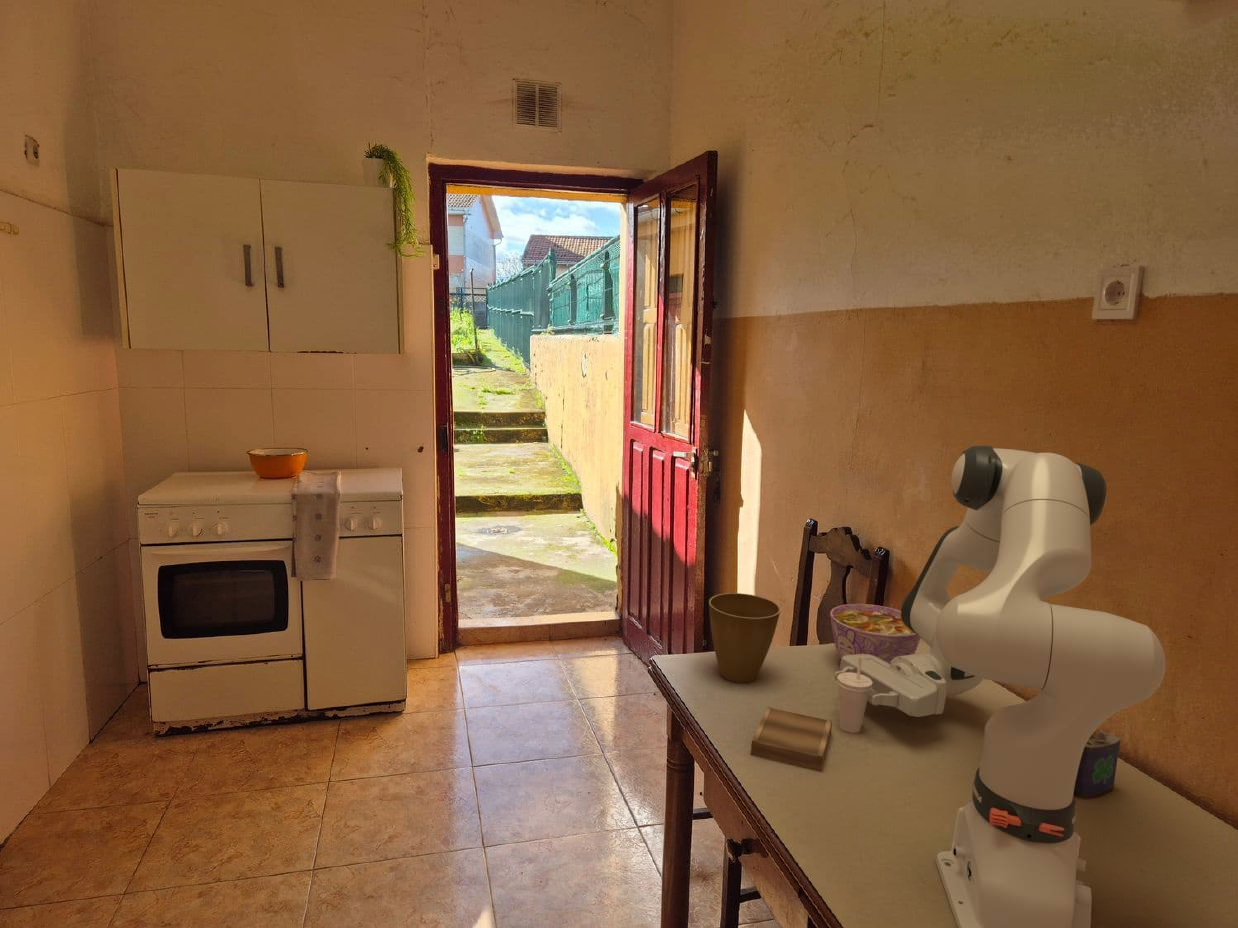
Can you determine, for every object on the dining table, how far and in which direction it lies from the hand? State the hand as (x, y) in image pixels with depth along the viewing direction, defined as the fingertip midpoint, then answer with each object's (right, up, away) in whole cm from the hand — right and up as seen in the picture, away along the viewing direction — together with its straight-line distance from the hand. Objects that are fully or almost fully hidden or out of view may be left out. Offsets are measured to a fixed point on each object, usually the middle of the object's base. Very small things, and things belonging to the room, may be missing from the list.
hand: (853, 688), depth 144 cm
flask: (+35, -13, -16) cm, 40 cm away
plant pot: (-18, -4, +22) cm, 29 cm away
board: (-13, -8, -6) cm, 16 cm away
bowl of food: (+13, -4, +29) cm, 32 cm away
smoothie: (0, -8, +1) cm, 8 cm away
